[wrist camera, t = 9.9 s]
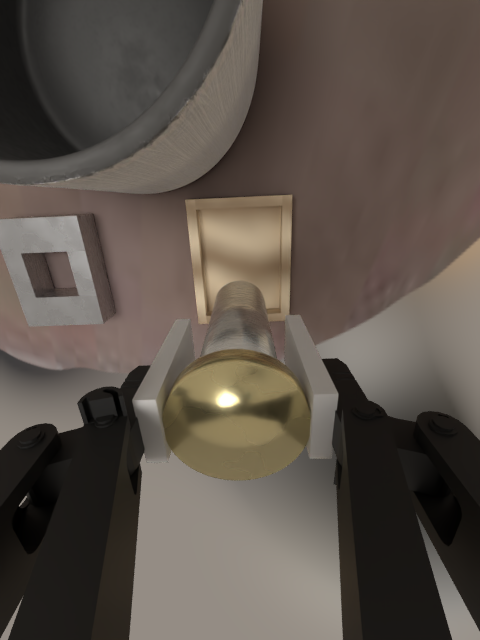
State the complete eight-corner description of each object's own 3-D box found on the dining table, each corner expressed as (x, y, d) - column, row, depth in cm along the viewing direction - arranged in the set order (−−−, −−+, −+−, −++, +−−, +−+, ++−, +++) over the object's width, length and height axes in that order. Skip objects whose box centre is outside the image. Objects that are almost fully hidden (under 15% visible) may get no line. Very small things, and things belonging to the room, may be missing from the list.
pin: (201, 272, 20) (150, 368, 9) (274, 269, 20) (315, 362, 9) (208, 337, 22) (173, 482, 11) (274, 334, 22) (308, 478, 11)
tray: (189, 199, 32) (185, 199, 30) (289, 194, 31) (292, 194, 29) (201, 316, 37) (198, 323, 35) (286, 313, 37) (289, 320, 35)
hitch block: (14, 217, 33) (-11, 219, 29) (93, 213, 32) (76, 215, 29) (47, 315, 37) (28, 326, 34) (115, 312, 37) (103, 323, 34)
